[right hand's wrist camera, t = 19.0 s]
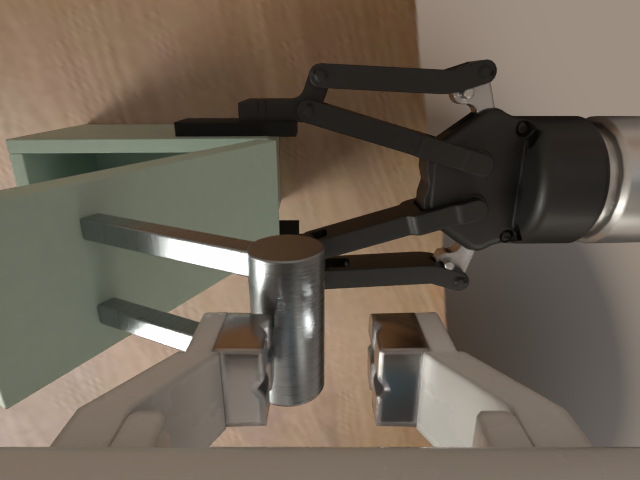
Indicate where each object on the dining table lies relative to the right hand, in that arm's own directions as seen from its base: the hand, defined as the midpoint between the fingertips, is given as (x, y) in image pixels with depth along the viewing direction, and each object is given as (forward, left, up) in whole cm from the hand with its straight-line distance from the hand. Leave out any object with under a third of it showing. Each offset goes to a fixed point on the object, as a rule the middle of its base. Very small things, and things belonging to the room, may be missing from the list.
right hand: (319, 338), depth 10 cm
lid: (-4, -5, -8) cm, 10 cm away
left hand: (-5, -6, -17) cm, 18 cm away
